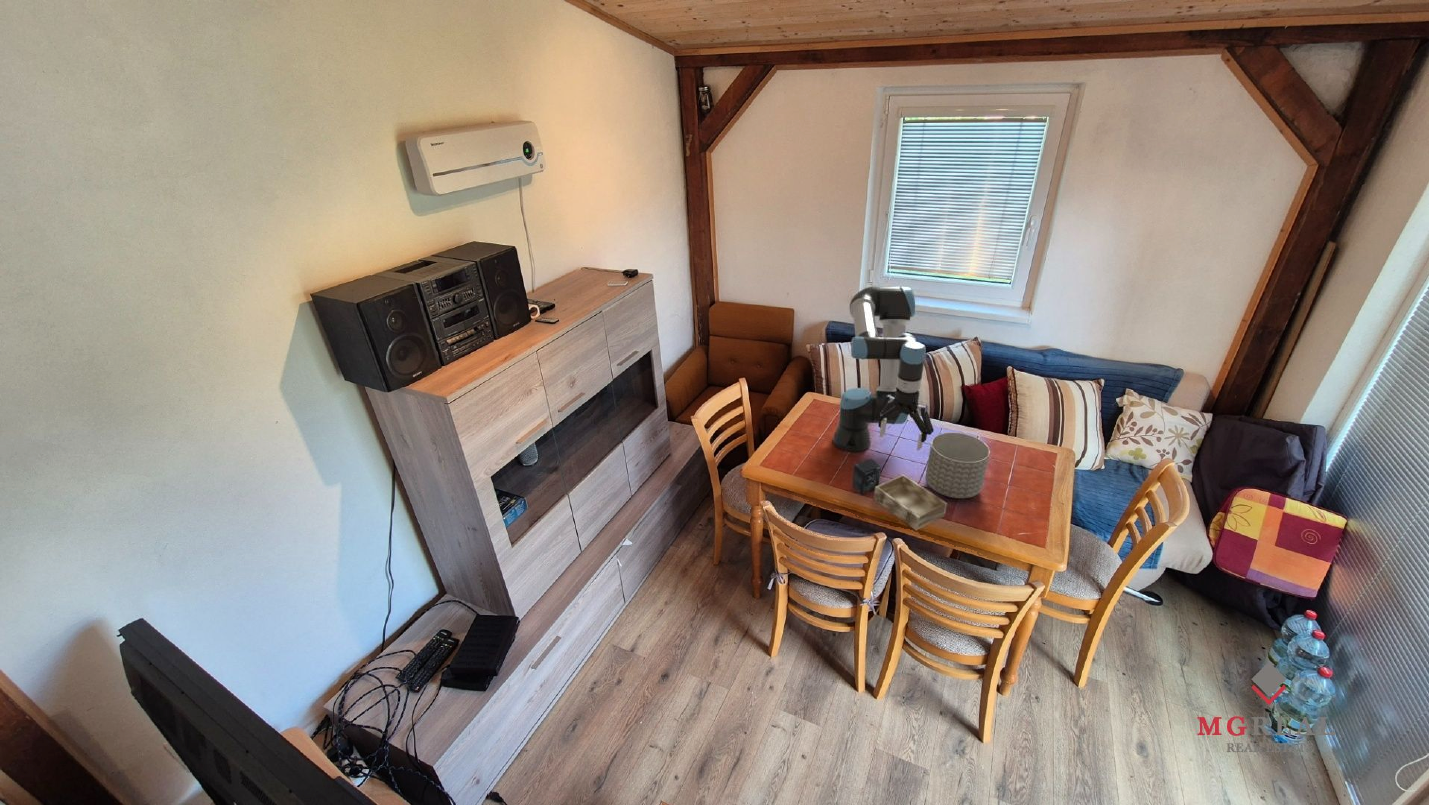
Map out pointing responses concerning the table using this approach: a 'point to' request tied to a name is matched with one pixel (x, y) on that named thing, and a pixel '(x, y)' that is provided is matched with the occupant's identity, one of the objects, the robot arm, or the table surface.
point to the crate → (910, 501)
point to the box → (866, 476)
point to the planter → (957, 465)
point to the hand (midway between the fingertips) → (900, 441)
